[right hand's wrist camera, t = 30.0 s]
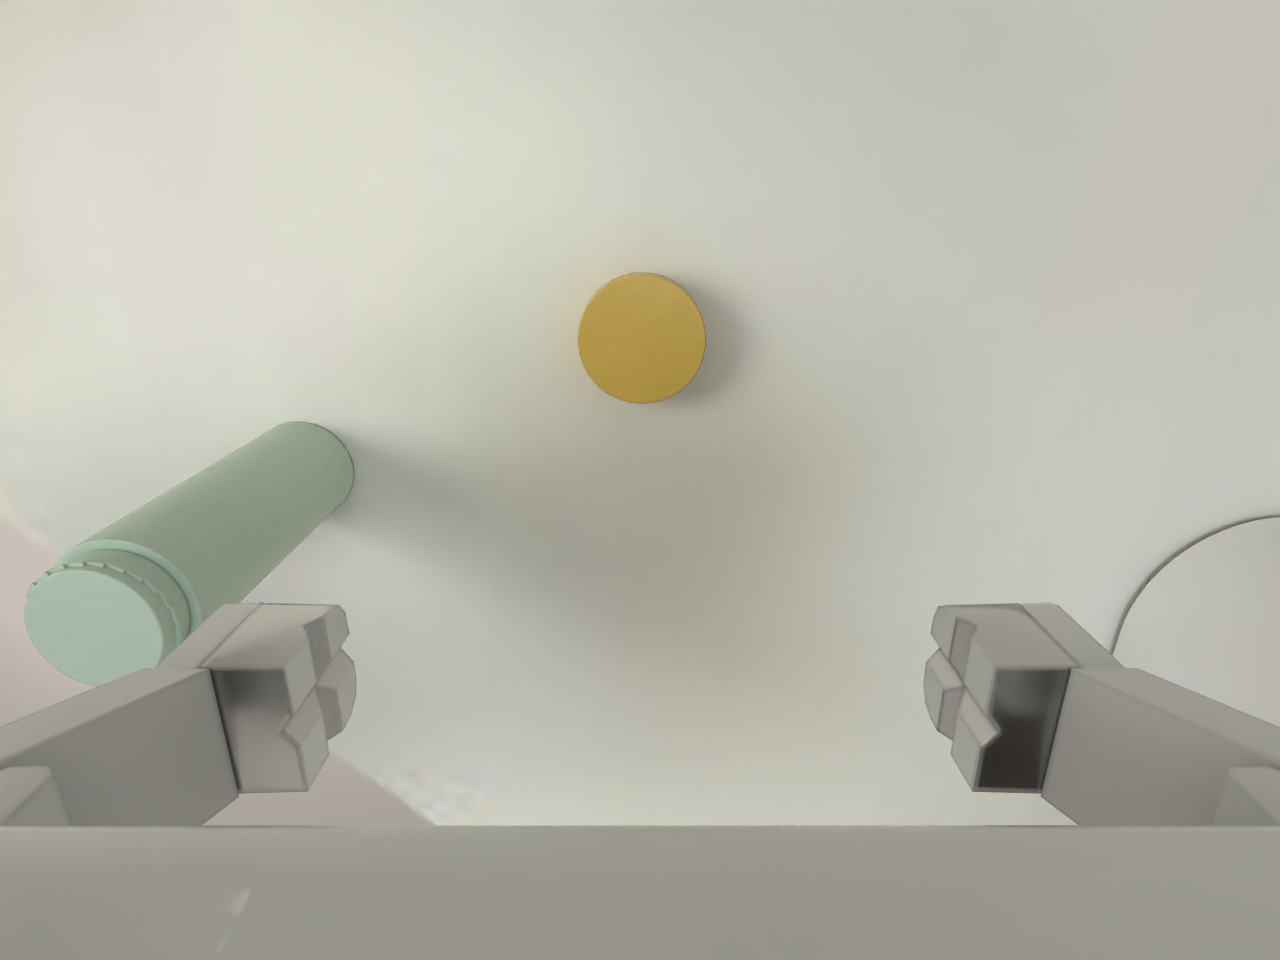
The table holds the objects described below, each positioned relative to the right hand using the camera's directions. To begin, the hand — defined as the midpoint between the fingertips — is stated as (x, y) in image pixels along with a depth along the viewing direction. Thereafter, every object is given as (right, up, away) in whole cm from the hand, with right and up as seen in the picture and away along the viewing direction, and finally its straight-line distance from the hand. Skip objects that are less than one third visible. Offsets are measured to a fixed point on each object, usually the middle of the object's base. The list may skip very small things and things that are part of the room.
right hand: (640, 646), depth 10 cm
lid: (0, +9, +24) cm, 25 cm away
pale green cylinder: (-17, +3, +27) cm, 32 cm away
